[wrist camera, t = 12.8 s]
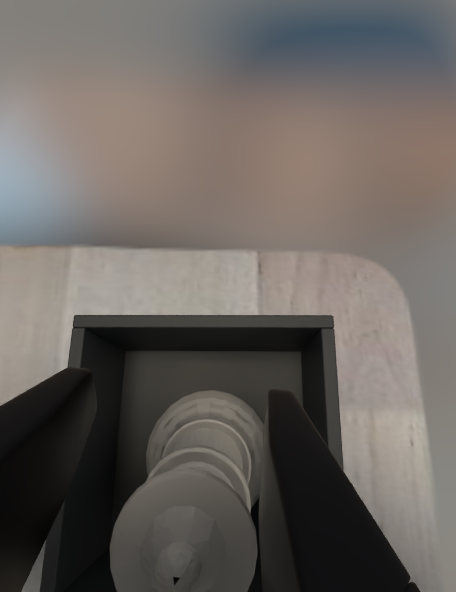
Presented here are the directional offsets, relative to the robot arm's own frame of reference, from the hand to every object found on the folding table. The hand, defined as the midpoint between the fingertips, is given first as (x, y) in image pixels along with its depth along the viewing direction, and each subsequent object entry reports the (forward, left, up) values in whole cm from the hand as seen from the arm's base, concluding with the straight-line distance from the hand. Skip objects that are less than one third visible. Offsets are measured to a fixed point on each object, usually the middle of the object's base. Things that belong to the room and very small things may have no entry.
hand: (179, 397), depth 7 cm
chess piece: (-1, +1, -9) cm, 9 cm away
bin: (-1, +1, -9) cm, 10 cm away
